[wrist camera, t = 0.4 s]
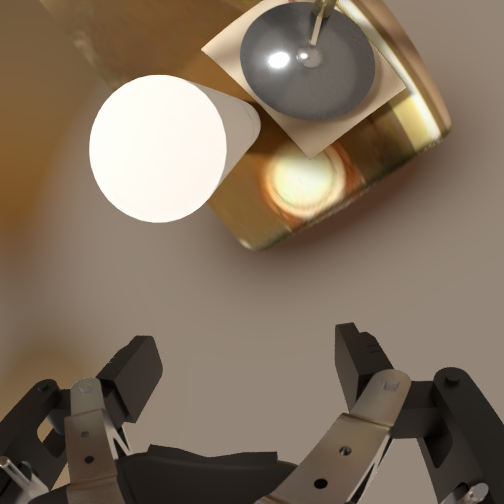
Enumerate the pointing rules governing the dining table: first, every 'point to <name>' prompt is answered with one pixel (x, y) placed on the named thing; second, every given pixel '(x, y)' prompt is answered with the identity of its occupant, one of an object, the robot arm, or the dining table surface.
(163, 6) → the dining table surface
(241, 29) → the stand
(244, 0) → the dining table surface
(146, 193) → the cylindrical container
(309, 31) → the crank wheel
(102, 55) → the dining table surface
